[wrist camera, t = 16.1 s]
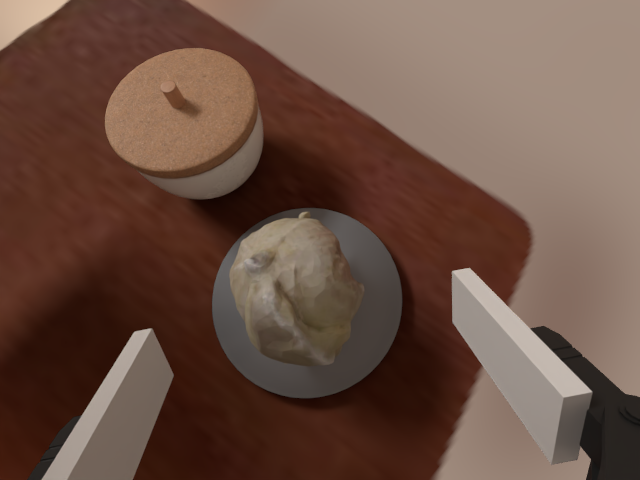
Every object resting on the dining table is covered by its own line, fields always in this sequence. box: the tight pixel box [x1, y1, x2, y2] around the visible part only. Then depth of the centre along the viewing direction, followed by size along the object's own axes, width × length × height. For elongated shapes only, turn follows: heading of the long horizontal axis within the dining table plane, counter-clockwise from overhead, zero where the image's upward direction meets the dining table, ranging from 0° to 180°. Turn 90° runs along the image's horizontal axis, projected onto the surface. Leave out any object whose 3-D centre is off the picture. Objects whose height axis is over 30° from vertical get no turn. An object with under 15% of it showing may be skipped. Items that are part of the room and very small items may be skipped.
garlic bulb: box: [229, 212, 365, 367], centre depth 21 cm, size 9×8×10 cm
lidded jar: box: [105, 48, 263, 200], centre depth 27 cm, size 11×11×9 cm
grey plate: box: [212, 208, 402, 398], centre depth 26 cm, size 14×14×1 cm
